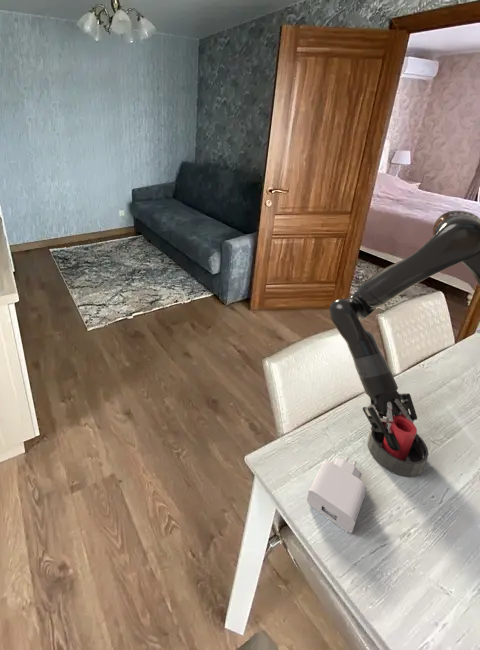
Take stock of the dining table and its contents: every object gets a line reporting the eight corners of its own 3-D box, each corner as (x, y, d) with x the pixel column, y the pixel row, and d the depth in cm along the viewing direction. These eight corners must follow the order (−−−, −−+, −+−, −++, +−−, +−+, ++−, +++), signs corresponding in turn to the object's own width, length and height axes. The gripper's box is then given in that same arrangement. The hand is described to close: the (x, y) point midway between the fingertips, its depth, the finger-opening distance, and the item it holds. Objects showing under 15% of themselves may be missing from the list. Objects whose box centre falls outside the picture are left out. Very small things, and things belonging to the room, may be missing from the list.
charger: (370, 479, 80) (351, 535, 69) (329, 454, 85) (306, 503, 75) (375, 465, 78) (355, 520, 67) (333, 440, 84) (309, 488, 73)
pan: (409, 435, 90) (414, 423, 89) (433, 481, 79) (438, 468, 78) (360, 428, 92) (364, 416, 91) (377, 472, 81) (381, 459, 80)
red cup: (401, 443, 88) (410, 417, 84) (410, 463, 83) (421, 436, 79) (378, 439, 89) (386, 414, 85) (386, 459, 84) (395, 433, 80)
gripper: (364, 379, 83) (396, 457, 77) (406, 364, 87) (440, 438, 82) (342, 381, 89) (371, 453, 83) (383, 367, 94) (413, 435, 88)
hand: (405, 445), depth 83 cm, fingers closed on red cup, 5 cm apart
